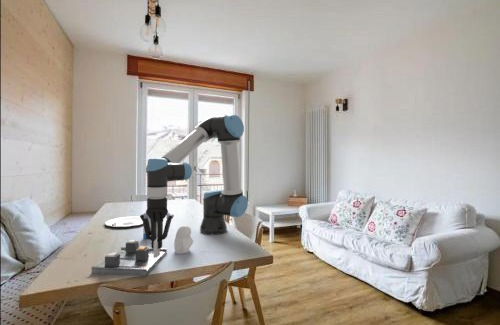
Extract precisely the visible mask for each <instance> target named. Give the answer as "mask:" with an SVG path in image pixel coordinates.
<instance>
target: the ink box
mask: <svg viewBox="0 0 500 325" xmlns="http://www.w3.org/2000/svg"><path fill="white" fill-rule="evenodd" d="M148 221H149V225H150V230H151V220H150V218H149V217H148ZM157 230H158V224H157V223H156V237H157ZM142 233H143V234H142V238H143V239H144V240H148V239H147V238H146V234H145V230H144V226H143V232H142Z"/></svg>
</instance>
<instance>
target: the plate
mask: <svg viewBox="0 0 500 325" xmlns="http://www.w3.org/2000/svg"><path fill="white" fill-rule="evenodd" d="M114 223H116V226H112V224H114ZM125 223H131V224H125ZM104 224H105V226H106V227H112V228H115V227H116V228H117V229H128V228H135V227H140V226H142V225H143V221H142V219H141V218H140V215H137V216H136V215H135V216H132V215H131V216H130V215H129V216H121V217H120V216H119V217H116V218H112V219H109V220H107V221H105V222H104ZM143 226H144V225H143Z"/></svg>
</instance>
